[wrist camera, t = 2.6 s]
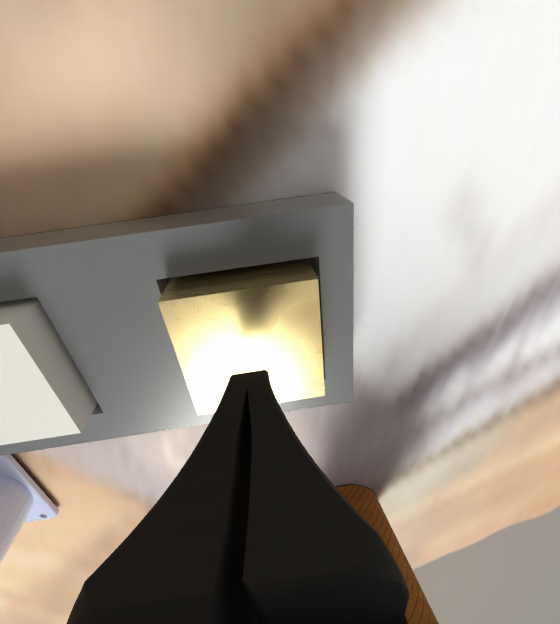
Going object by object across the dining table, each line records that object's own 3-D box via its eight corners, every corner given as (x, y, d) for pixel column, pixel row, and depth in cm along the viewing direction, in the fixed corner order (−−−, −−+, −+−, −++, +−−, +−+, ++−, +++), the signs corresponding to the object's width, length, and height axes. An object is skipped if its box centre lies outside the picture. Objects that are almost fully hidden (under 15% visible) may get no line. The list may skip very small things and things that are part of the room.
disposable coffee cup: (329, 462, 25) (386, 689, 15) (414, 486, 28) (511, 691, 18) (273, 522, 29) (287, 737, 19) (353, 538, 32) (404, 732, 22)
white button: (-7, 406, 17) (-51, 453, 15) (-85, 309, 14) (-159, 347, 12) (105, 389, 18) (80, 433, 15) (52, 290, 14) (9, 323, 12)
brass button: (205, 374, 18) (197, 415, 15) (173, 272, 15) (157, 302, 12) (313, 357, 18) (325, 395, 15) (305, 253, 15) (318, 278, 12)
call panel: (2, 418, 20) (-35, 460, 17) (-131, 256, 14) (-214, 282, 12) (339, 367, 20) (352, 401, 18) (334, 191, 15) (353, 203, 12)
